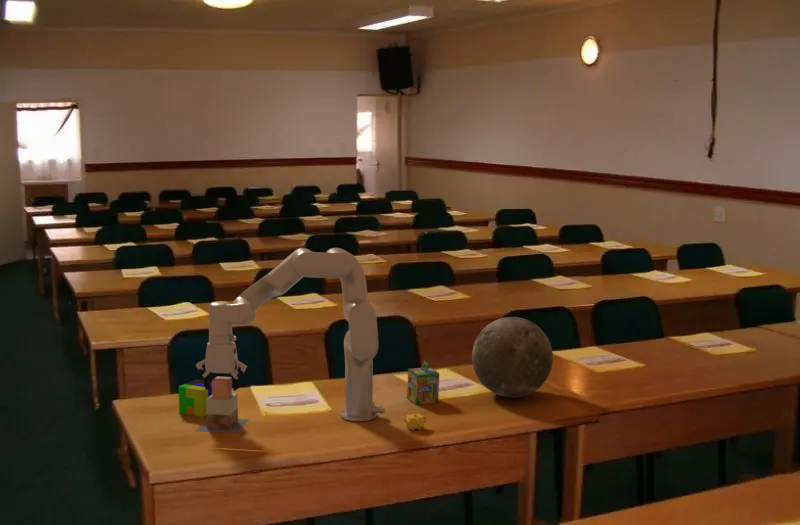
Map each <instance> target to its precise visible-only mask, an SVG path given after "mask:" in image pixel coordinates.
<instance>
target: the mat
mask: <svg viewBox="0 0 800 525" xmlns="http://www.w3.org/2000/svg"><path fill="white" fill-rule="evenodd" d="M249 421H250V419H249V418H248V419H247V418H246V419H245V418H238V422H237V423H236V424H235V425H234V426H233V427H232V428H231V429H230V430H226V429H210V428H207V419H206V421H203V423H202V424H201V425H200V426H199V427H197V428H196V429H195V430H194V431H195V432H204V433H220V434H221V433H222V434H237V433H238V432H240V430H241V429H242V428H243V427H244V426H245V425H246V424H248V422H249Z"/></svg>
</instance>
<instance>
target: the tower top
mask: <svg viewBox="0 0 800 525" xmlns="http://www.w3.org/2000/svg"><path fill="white" fill-rule="evenodd" d="M238 398H239V397H238V392H237V393H235V392H232V395H231V396H230V397H228V398H227V399H219V398H212V395H211V396H210V397H208V398H207V399H206V408H207V414H218V415H231V414H232V413H233V412H234V411H235V410H236V409H237V408H238V407H239V406H238V405H239V402H238ZM238 409H239V408H238Z"/></svg>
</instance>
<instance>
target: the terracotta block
mask: <svg viewBox="0 0 800 525" xmlns="http://www.w3.org/2000/svg"><path fill="white" fill-rule="evenodd" d="M232 377H233V376H232ZM232 377H231V376H218V375H217V376H216V377H215V378H213V379H212V380H211V382H212V398H219V399H227V398H228V397H230V396H231V395H232V393H233V379H232Z"/></svg>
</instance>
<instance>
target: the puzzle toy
mask: <svg viewBox="0 0 800 525" xmlns="http://www.w3.org/2000/svg"><path fill="white" fill-rule="evenodd" d="M211 395H212V381H211V387H210V388H209V389H205V386H204V379H197V378H196V379H194V380H191V381H189V382H187V383H184V384H182V385H181V384H180V385H179V386H178V411H179V414H183V415H189V416H195V417H200V418H204V417H205V416H206V417H207V408H206V399H207V398H208V397H210V396H211Z"/></svg>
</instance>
